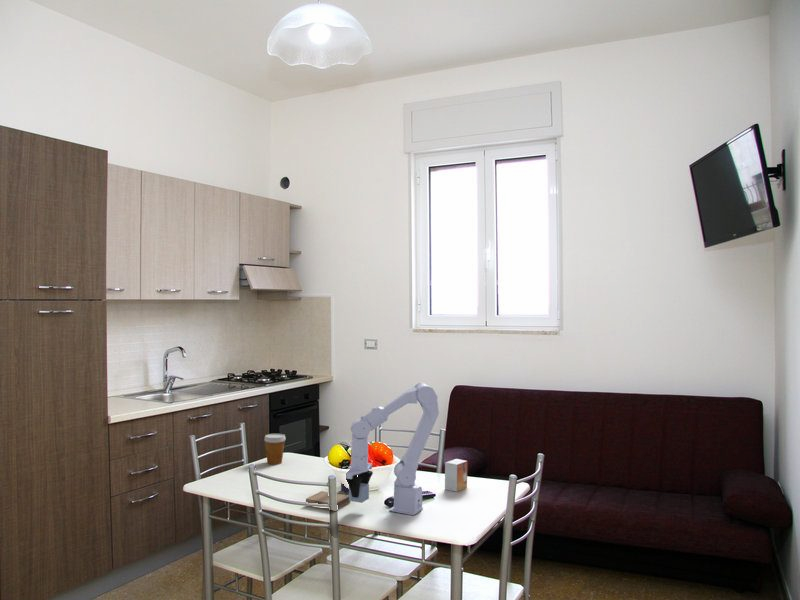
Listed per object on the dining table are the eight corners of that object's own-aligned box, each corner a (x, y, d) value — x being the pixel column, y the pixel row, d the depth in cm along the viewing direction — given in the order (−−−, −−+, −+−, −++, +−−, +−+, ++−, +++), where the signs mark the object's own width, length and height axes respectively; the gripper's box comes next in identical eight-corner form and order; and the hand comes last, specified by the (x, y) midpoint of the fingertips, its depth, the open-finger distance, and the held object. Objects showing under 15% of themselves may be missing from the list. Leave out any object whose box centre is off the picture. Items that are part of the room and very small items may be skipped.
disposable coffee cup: (285, 465, 268) (285, 437, 268) (262, 465, 266) (263, 438, 267) (286, 459, 277) (286, 433, 277) (264, 460, 276) (264, 433, 276)
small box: (456, 492, 234) (457, 464, 234) (444, 489, 237) (444, 462, 237) (467, 487, 240) (467, 460, 240) (455, 484, 244) (455, 458, 244)
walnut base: (349, 503, 219) (350, 496, 219) (335, 511, 210) (335, 504, 210) (321, 497, 224) (321, 491, 224) (305, 505, 215) (305, 498, 215)
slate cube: (368, 498, 212) (368, 484, 212) (361, 502, 207) (361, 488, 207) (356, 496, 214) (356, 482, 214) (348, 500, 209) (349, 486, 210)
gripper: (359, 449, 219) (359, 487, 219) (338, 458, 206) (338, 498, 206) (377, 451, 216) (376, 490, 216) (356, 461, 203) (356, 502, 203)
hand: (359, 494), depth 211 cm, fingers closed on slate cube, 5 cm apart
